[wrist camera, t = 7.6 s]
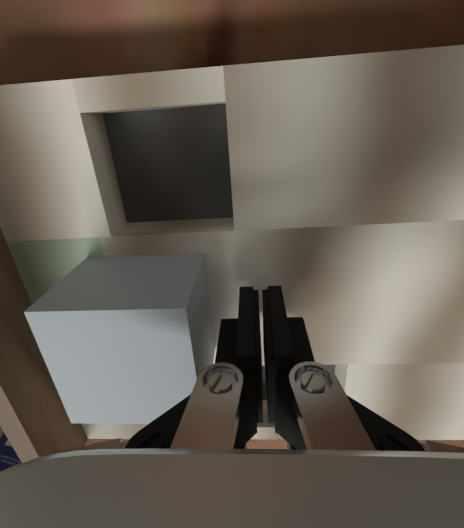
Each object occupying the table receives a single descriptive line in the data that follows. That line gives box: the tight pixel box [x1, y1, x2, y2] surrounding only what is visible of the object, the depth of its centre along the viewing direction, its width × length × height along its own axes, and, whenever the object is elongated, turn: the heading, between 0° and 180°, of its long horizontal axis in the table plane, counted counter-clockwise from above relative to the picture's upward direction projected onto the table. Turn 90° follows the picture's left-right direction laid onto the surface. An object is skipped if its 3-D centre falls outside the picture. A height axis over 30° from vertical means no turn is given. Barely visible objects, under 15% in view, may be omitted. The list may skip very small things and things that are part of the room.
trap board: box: [0, 45, 464, 463], centre depth 13 cm, size 23×18×5 cm
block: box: [24, 253, 215, 424], centre depth 12 cm, size 5×5×4 cm
